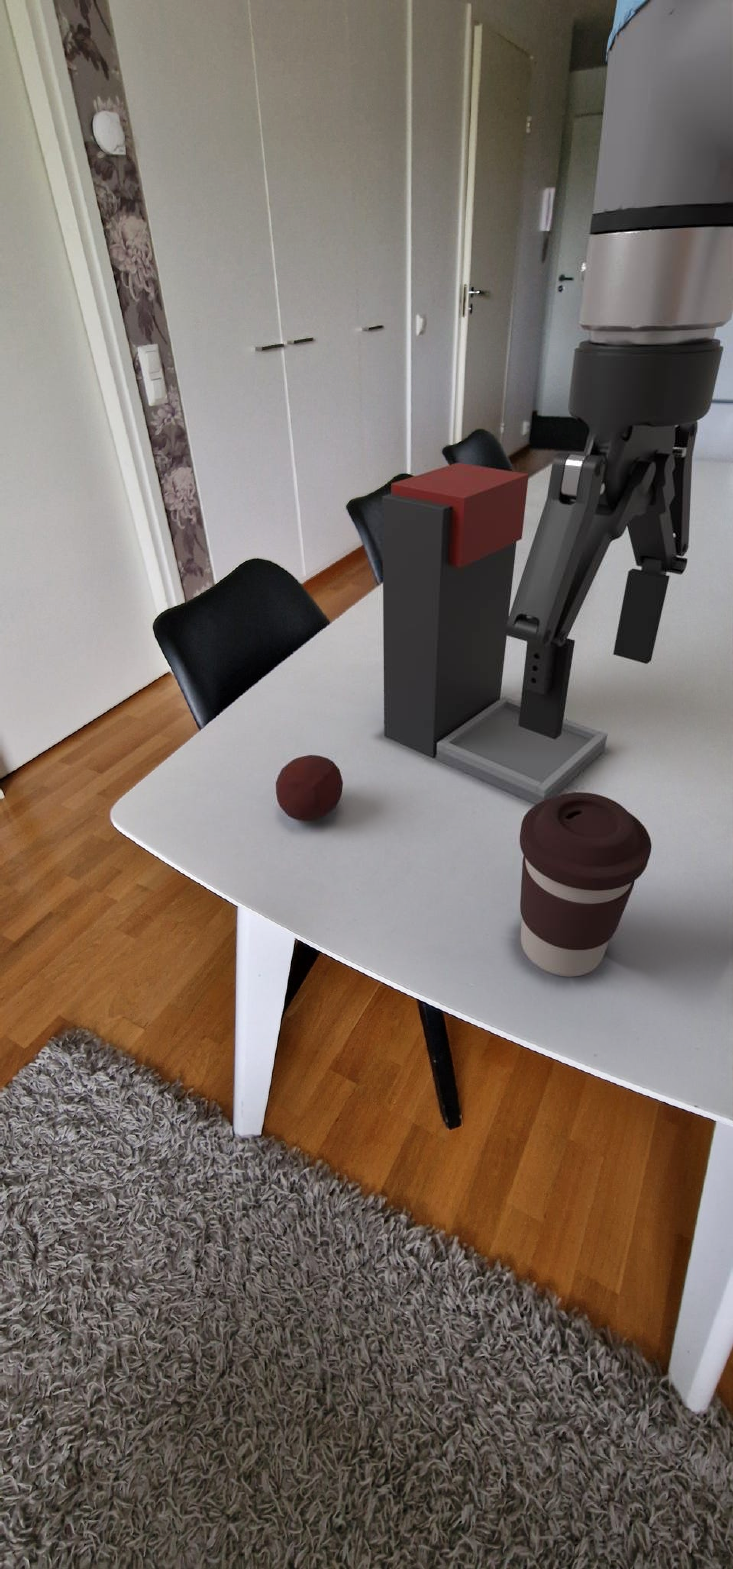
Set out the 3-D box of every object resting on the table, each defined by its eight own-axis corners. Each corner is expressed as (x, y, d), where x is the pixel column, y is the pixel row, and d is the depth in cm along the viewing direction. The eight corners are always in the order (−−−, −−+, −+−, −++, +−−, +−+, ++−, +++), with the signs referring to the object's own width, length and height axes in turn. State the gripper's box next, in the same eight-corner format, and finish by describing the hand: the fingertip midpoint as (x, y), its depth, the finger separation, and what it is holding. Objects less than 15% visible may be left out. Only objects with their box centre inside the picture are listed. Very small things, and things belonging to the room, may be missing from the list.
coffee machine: (604, 750, 88) (660, 491, 70) (542, 807, 79) (588, 527, 61) (451, 692, 101) (465, 460, 82) (384, 736, 92) (381, 486, 73)
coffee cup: (632, 992, 59) (675, 860, 50) (514, 992, 59) (535, 861, 50) (602, 905, 67) (634, 778, 58) (498, 906, 67) (514, 779, 58)
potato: (354, 801, 81) (352, 750, 77) (323, 842, 75) (319, 789, 71) (299, 786, 83) (294, 736, 79) (264, 824, 78) (257, 772, 74)
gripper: (674, 320, 47) (619, 622, 59) (452, 355, 32) (440, 747, 44) (797, 320, 42) (709, 645, 55) (606, 360, 28) (545, 792, 40)
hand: (589, 691), depth 50 cm, fingers open, 13 cm apart
